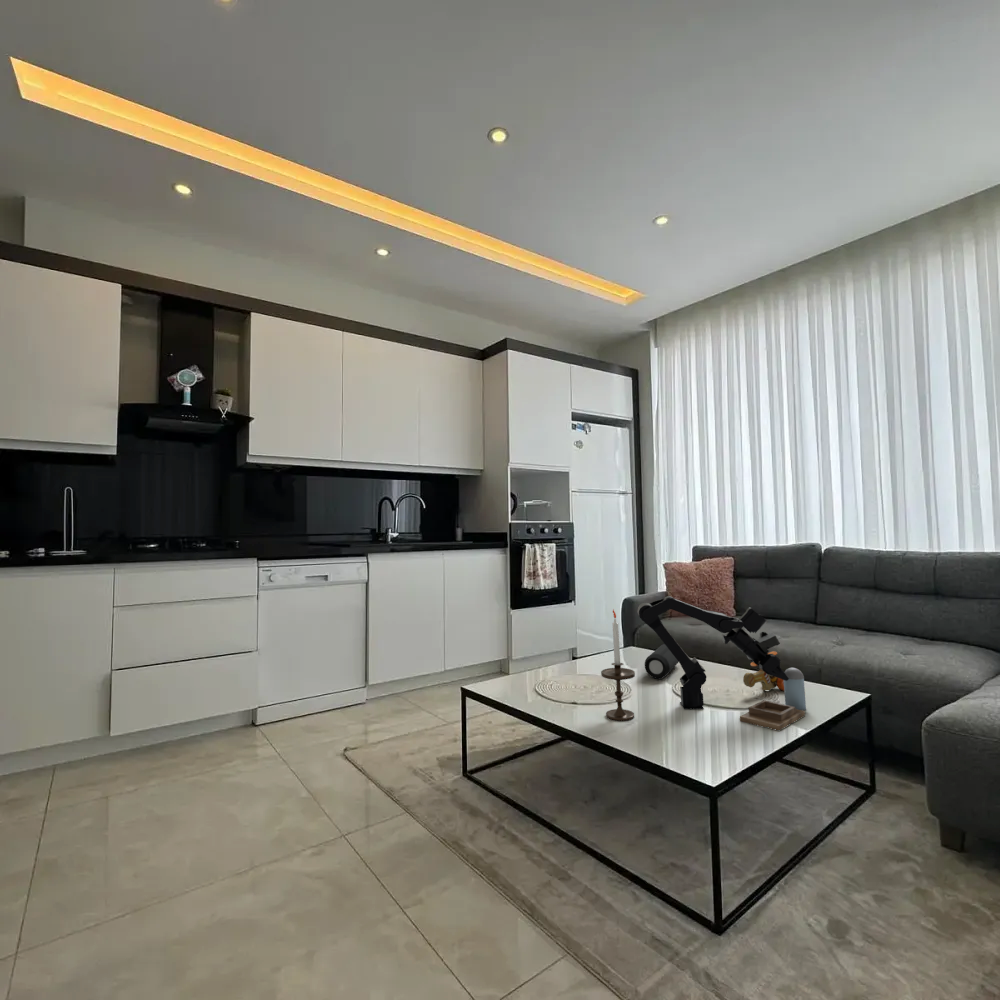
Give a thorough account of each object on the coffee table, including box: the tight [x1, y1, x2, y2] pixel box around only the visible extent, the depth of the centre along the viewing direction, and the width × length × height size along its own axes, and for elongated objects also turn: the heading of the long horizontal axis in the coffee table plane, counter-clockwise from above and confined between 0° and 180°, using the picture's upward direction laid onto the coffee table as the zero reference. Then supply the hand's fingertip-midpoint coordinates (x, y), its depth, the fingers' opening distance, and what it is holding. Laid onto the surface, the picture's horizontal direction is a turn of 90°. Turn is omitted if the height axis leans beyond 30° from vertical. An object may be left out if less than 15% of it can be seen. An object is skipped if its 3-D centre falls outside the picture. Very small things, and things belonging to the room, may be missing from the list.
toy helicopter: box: [743, 650, 784, 691], centre depth 201 cm, size 8×21×14 cm, turn 123°
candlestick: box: [600, 608, 636, 722], centre depth 183 cm, size 11×11×35 cm
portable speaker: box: [644, 643, 679, 680], centre depth 233 cm, size 26×10×10 cm, turn 150°
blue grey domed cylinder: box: [783, 667, 807, 711], centre depth 184 cm, size 6×6×13 cm
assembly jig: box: [739, 699, 806, 731], centre depth 175 cm, size 18×12×4 cm, turn 129°
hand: (782, 675), depth 184 cm, fingers open, 9 cm apart
